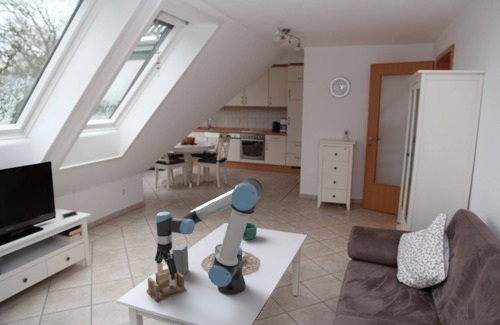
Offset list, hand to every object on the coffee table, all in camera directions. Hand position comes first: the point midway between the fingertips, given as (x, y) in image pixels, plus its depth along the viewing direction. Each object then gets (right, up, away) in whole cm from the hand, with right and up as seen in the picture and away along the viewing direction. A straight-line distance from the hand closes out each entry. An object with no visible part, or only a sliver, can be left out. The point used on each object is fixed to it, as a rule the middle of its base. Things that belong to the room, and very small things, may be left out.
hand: (166, 279), depth 178 cm
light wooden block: (0, -3, +1) cm, 3 cm away
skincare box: (+4, -3, +21) cm, 22 cm away
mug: (+42, +5, +71) cm, 83 cm away
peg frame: (0, -7, +1) cm, 7 cm away
